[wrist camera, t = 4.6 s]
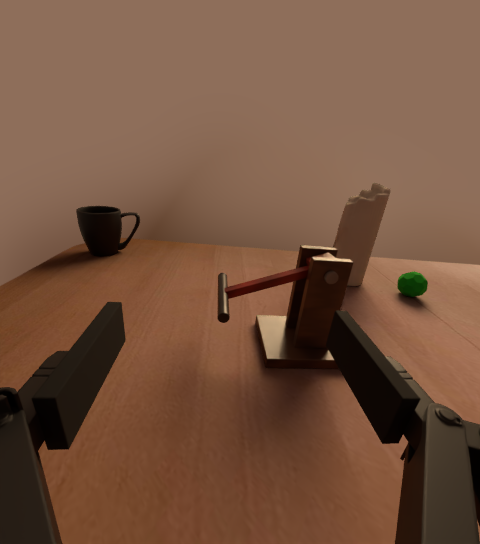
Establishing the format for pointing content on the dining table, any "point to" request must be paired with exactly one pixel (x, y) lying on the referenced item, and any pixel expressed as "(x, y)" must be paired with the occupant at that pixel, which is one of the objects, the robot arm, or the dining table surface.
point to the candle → (360, 229)
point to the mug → (103, 229)
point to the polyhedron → (412, 284)
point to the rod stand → (306, 314)
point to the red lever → (256, 285)
